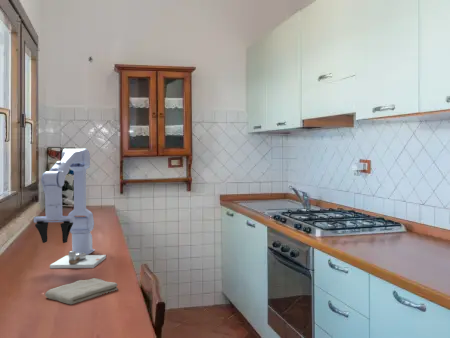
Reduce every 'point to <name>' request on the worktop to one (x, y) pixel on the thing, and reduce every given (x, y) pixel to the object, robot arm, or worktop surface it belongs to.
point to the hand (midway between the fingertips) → (54, 242)
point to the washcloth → (80, 290)
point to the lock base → (79, 262)
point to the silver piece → (76, 256)
